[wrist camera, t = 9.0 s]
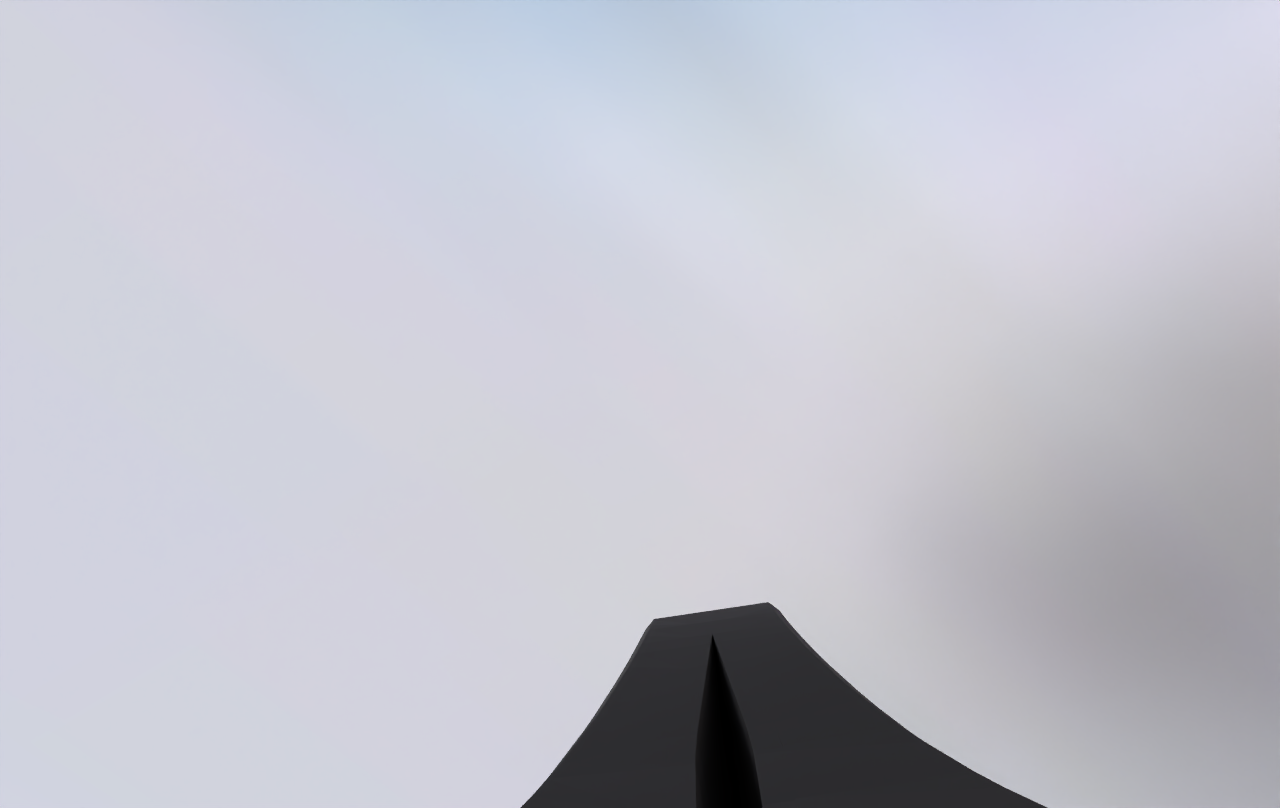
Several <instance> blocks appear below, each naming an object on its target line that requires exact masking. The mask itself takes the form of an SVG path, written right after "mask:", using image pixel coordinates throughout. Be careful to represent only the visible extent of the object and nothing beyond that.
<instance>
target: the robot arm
mask: <svg viewBox="0 0 1280 808" xmlns="http://www.w3.org/2000/svg"><path fill="white" fill-rule="evenodd" d="M521 808H1047V807H1045V806H1043V805H1041V804H1038V803H1036V802H1034V801H1032V800H1030V799H1028V798H1026V797H1024V796H1021V795H1019V794H1017V793H1015V792H1013V791H1011V790H1009V789H1006V788H1004V787H1002V786H1001V785H999V784H997V783H995V782H993V781H991V780H989V779H987V778H985V777H983V776H982V775H980V774H978V773H976V772H974V771H972V770H971V769H969V768H967V767H966V766H964V765H962V764H961V763H959V762H957V761H956V760H954V759H952V758H951V757H949V756H947V755H946V754H944V753H942V752H941V751H939V750H937V749H936V748H934V747H932V746H931V745H929V744H927V743H926V742H924V741H923V740H921V739H920V738H918V737H917V736H915V735H914V734H912V733H911V732H909V731H908V730H907V729H905V728H904V727H903V726H901V725H900V724H899V723H898V722H896V721H895V720H894V719H892V718H891V717H890V716H888V715H887V714H886V713H884V712H883V711H882V710H880V709H879V708H878V707H877V706H875V705H874V704H873V703H872V702H871V701H869V700H868V699H867V698H866V697H865V696H863V695H862V694H861V693H860V692H859V691H857V690H856V689H855V688H854V687H853V686H852V685H851V684H850V683H849V682H847V681H846V680H845V679H844V678H843V677H842V676H841V675H840V674H839V673H837V672H836V671H835V670H834V669H833V668H832V667H831V666H830V665H829V664H828V663H827V662H826V661H824V660H823V659H822V658H821V657H820V656H819V655H818V654H817V653H816V652H815V651H814V650H813V649H812V647H811V646H810V645H809V644H808V643H807V642H806V641H805V640H804V639H803V638H802V637H801V636H800V635H799V634H798V633H797V632H796V630H795V629H794V628H793V627H792V626H791V625H790V623H789V622H788V621H787V620H786V618H785V617H784V616H783V615H782V613H781V612H780V611H779V610H778V609H777V608H775V607H774V606H773V605H771V604H770V603H769V602H767V603H760V604H753V605H747V606H740V607H733V608H726V609H720V610H713V611H706V612H699V613H693V614H686V615H679V616H672V617H665V618H659V619H654V620H653V621H652V622H651V624H650V625H649V626H648V627H647V629H646V630H645V632H644V634H643V636H642V637H641V639H640V641H639V643H638V645H637V647H636V649H635V651H634V652H633V654H632V656H631V658H630V660H629V661H628V663H627V665H626V666H625V668H624V670H623V672H622V673H621V675H620V677H619V678H618V680H617V682H616V683H615V685H614V686H613V688H612V689H611V691H610V693H609V694H608V696H607V697H606V699H605V700H604V702H603V703H602V705H601V706H600V708H599V709H598V711H597V713H596V714H595V716H594V717H593V719H592V720H591V722H590V723H589V724H588V726H587V727H586V729H585V730H584V731H583V733H582V734H581V735H580V737H579V738H578V739H577V741H576V742H575V743H574V745H573V746H572V747H571V749H570V750H569V751H568V752H567V754H566V755H565V756H564V758H563V759H562V760H561V762H560V763H559V764H558V766H557V767H556V768H555V770H554V771H553V772H552V773H551V775H550V776H549V777H548V778H547V780H546V781H545V782H544V783H543V784H542V785H541V787H540V788H539V789H538V790H537V791H536V792H535V793H534V794H533V796H532V797H531V798H530V799H529V800H528V801H527V802H526V803H525V804H524V805H523V806H522V807H521Z"/></svg>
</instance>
